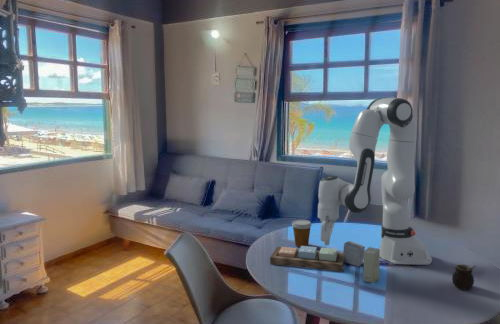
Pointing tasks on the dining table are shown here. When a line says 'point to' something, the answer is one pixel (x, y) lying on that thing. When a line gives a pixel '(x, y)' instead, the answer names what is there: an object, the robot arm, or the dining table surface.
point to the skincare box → (371, 265)
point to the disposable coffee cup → (301, 232)
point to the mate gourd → (463, 277)
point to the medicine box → (353, 253)
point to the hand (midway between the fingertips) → (327, 244)
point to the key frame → (308, 261)
